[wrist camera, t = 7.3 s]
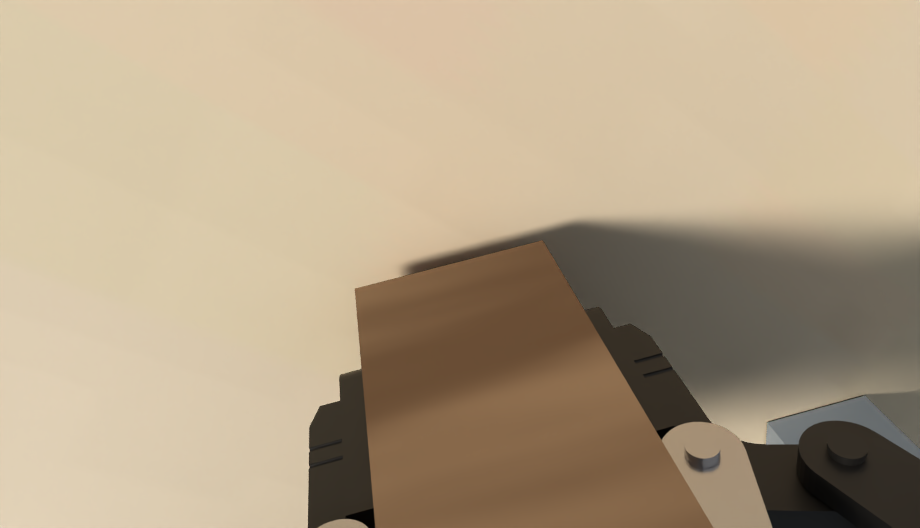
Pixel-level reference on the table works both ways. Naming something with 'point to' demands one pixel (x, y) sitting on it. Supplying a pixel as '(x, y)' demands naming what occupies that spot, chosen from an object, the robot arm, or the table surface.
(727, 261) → the table surface
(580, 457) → the push stick
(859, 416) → the grey bridge block
